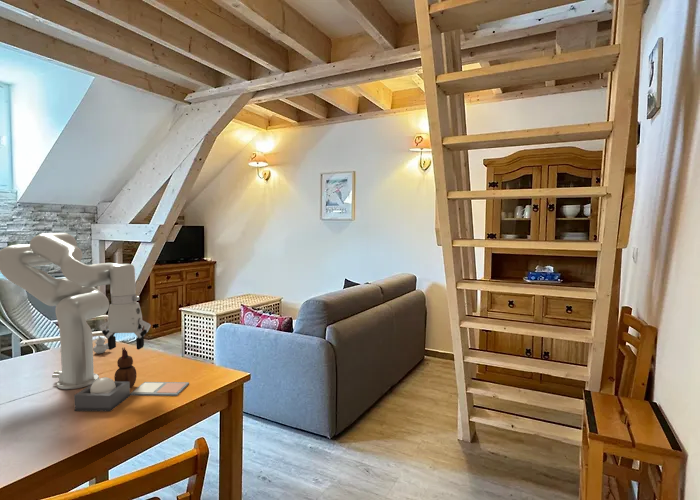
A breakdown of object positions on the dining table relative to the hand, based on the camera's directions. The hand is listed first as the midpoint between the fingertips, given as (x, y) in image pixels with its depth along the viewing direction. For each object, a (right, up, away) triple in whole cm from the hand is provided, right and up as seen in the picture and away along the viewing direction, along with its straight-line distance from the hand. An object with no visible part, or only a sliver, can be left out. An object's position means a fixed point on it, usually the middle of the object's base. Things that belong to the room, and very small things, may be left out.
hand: (126, 348), depth 141 cm
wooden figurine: (-1, -14, +1) cm, 14 cm away
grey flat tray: (+12, -14, 0) cm, 19 cm away
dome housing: (-1, -15, -11) cm, 18 cm away
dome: (-1, -14, -11) cm, 18 cm away
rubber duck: (-32, -11, +38) cm, 51 cm away
